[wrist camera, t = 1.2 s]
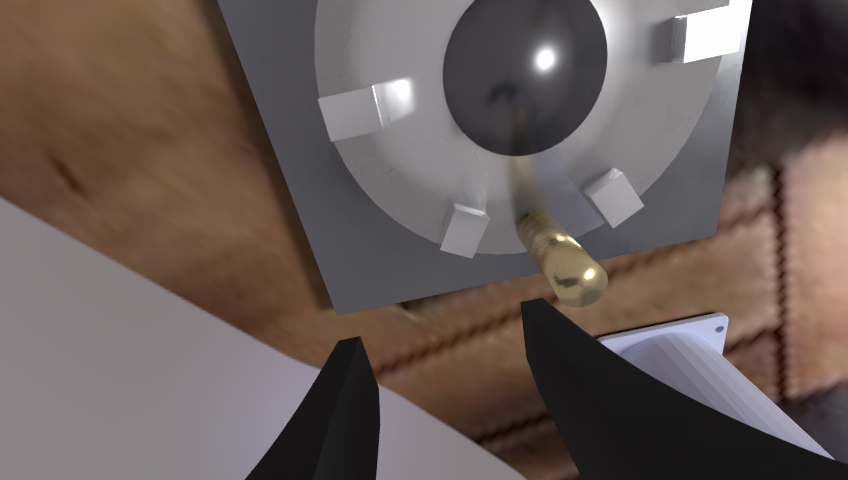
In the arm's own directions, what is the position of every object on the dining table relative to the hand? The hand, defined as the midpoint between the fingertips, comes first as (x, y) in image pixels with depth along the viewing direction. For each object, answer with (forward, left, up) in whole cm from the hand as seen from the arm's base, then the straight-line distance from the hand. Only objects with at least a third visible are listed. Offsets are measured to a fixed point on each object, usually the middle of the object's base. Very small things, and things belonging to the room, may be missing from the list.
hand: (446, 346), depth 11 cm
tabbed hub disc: (+6, -5, -8) cm, 11 cm away
